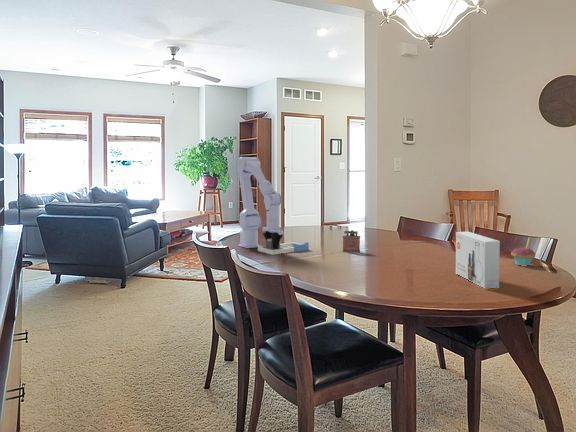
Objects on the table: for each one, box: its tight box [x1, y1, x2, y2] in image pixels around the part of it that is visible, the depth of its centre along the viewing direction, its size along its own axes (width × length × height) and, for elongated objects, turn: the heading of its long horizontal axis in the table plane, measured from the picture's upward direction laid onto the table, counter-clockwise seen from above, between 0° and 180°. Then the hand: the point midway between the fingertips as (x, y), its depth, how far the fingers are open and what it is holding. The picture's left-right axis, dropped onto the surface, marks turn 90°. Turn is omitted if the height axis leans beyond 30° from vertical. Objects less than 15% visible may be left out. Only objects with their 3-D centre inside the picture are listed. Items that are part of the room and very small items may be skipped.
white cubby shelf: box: [257, 241, 310, 256], centre depth 213 cm, size 13×21×4 cm, turn 127°
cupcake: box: [510, 235, 536, 266], centre depth 179 cm, size 9×8×12 cm
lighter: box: [341, 229, 361, 254], centre depth 209 cm, size 8×3×10 cm, turn 84°
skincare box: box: [455, 231, 501, 289], centre depth 153 cm, size 21×5×16 cm, turn 5°
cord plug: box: [265, 239, 281, 250], centre depth 209 cm, size 4×5×6 cm
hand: (272, 248), depth 209 cm, fingers closed on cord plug, 4 cm apart
